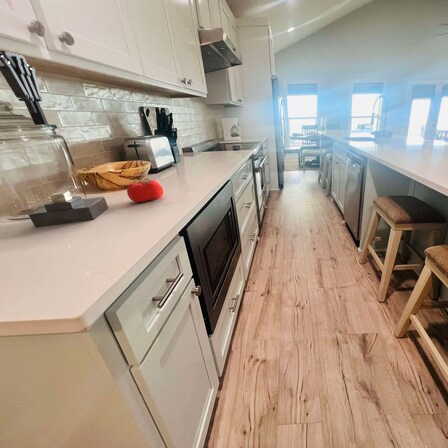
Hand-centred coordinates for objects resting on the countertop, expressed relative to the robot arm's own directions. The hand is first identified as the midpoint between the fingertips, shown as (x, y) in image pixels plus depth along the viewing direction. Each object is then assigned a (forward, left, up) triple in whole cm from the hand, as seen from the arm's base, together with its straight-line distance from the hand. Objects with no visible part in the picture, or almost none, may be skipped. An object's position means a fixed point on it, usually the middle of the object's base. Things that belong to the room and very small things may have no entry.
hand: (41, 124), depth 75 cm
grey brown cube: (+10, -16, -21) cm, 28 cm away
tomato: (+25, 0, -27) cm, 37 cm away
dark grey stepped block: (+10, -14, -26) cm, 32 cm away
